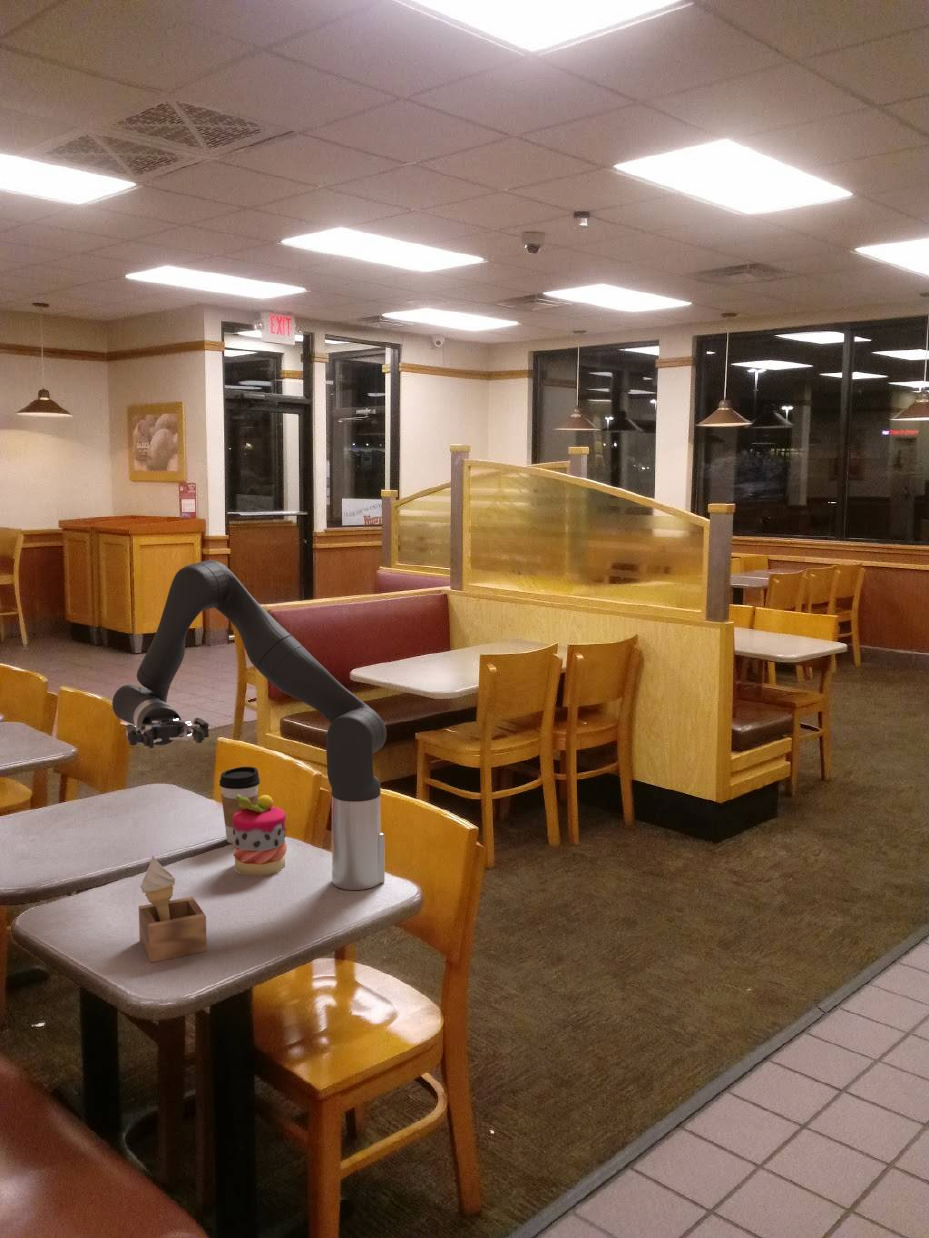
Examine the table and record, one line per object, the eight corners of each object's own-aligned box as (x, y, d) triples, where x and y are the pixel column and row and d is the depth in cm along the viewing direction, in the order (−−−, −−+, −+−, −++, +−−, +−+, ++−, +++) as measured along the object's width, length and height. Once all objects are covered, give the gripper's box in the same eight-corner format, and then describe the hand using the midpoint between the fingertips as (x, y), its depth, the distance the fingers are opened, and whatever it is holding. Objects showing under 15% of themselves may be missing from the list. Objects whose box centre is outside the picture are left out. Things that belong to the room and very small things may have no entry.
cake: (261, 853, 214) (260, 782, 212) (298, 864, 208) (297, 792, 206) (222, 868, 206) (220, 794, 204) (259, 880, 200) (257, 805, 198)
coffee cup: (268, 839, 223) (267, 771, 221) (235, 849, 216) (234, 779, 214) (245, 830, 228) (244, 763, 226) (212, 839, 222) (211, 771, 220)
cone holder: (193, 930, 178) (192, 896, 177) (206, 951, 170) (205, 916, 169) (139, 940, 173) (138, 906, 173) (150, 962, 166) (149, 926, 165)
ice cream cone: (177, 947, 168) (159, 855, 169) (146, 953, 169) (128, 861, 170) (192, 938, 174) (175, 849, 175) (162, 943, 175) (145, 855, 176)
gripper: (117, 705, 196) (134, 723, 182) (193, 698, 203) (215, 715, 189) (118, 744, 197) (135, 765, 183) (194, 736, 204) (216, 755, 190)
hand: (176, 740), depth 186 cm, fingers open, 8 cm apart
